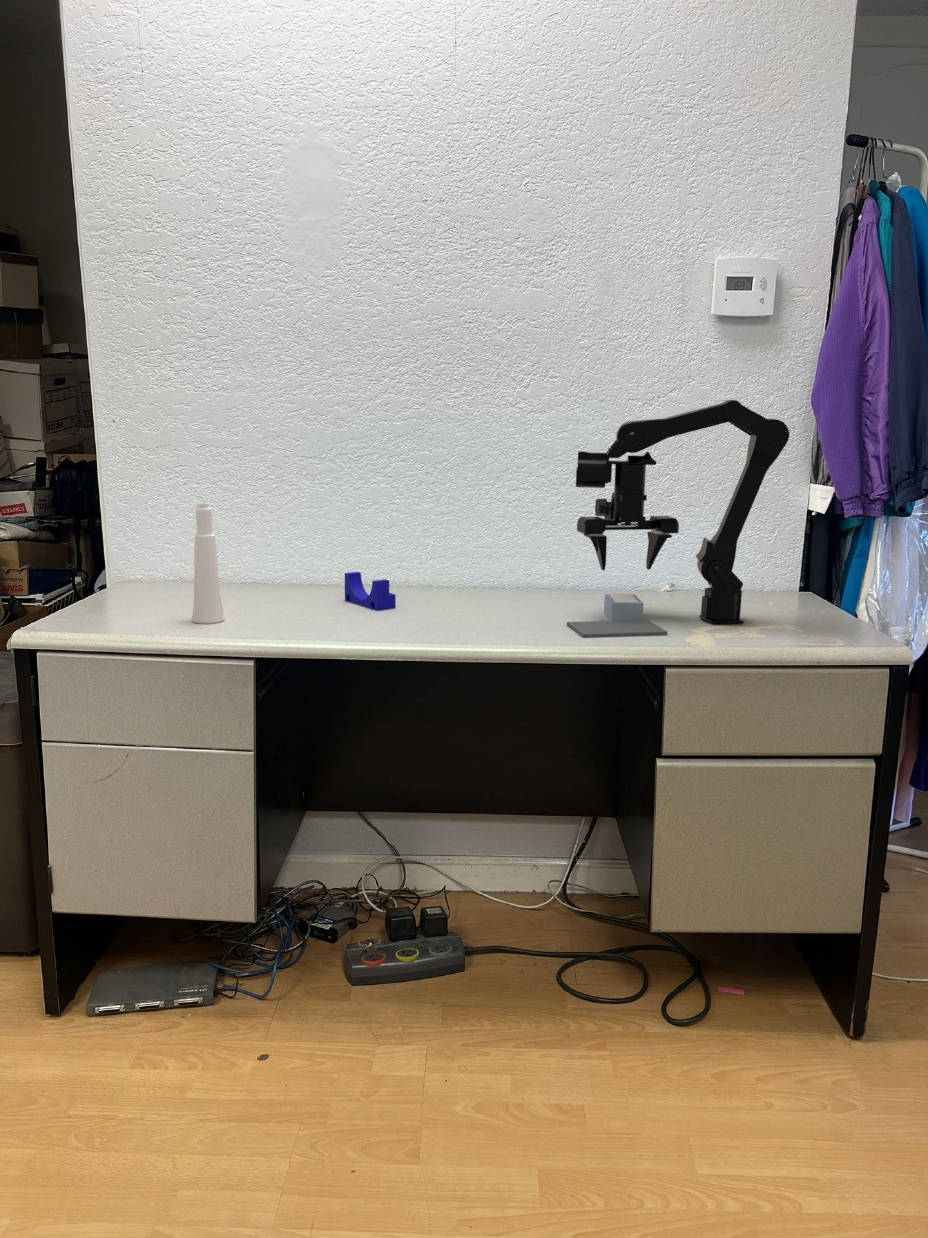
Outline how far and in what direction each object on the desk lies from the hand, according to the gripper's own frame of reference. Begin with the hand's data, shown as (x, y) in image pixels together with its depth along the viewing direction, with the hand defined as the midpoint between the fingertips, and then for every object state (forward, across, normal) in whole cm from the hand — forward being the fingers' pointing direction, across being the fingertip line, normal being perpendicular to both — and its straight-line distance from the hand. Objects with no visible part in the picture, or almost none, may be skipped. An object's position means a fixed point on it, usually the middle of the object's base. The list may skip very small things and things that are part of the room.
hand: (625, 569), depth 193 cm
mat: (+9, +5, +10) cm, 15 cm away
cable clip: (+10, +48, -18) cm, 52 cm away
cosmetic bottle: (+9, +79, -7) cm, 80 cm away
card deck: (+10, 0, 0) cm, 10 cm away
